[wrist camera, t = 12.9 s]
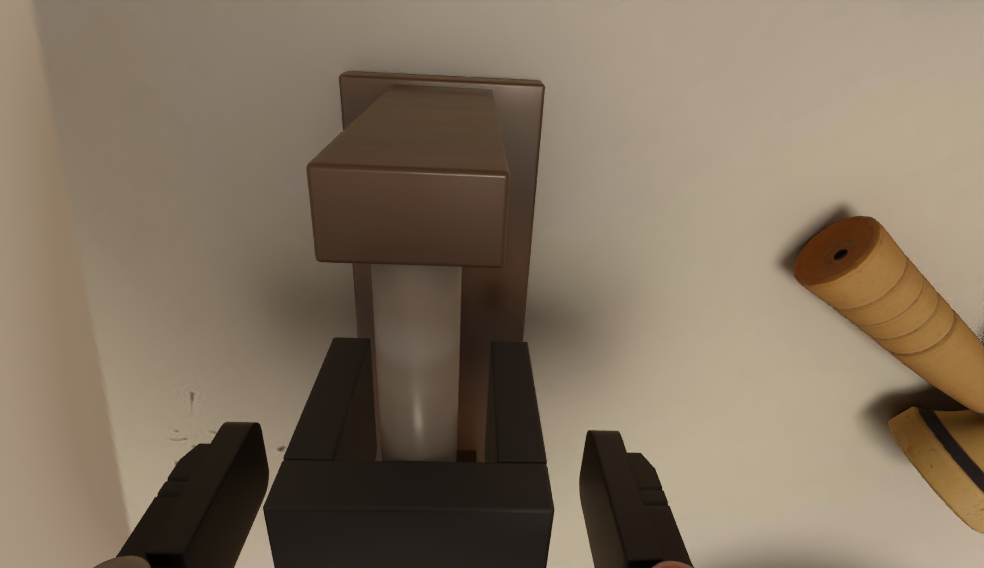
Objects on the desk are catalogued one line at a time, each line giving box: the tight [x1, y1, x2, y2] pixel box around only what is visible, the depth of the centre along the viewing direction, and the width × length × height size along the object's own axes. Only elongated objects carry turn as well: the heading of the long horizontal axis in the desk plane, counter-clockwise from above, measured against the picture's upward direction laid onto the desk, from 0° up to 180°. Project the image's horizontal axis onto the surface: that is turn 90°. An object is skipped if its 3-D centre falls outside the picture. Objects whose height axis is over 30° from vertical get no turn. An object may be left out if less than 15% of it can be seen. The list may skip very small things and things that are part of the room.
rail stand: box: [306, 71, 545, 462], centre depth 16 cm, size 16×6×10 cm, turn 177°
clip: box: [263, 338, 554, 568], centre depth 13 cm, size 4×5×6 cm
